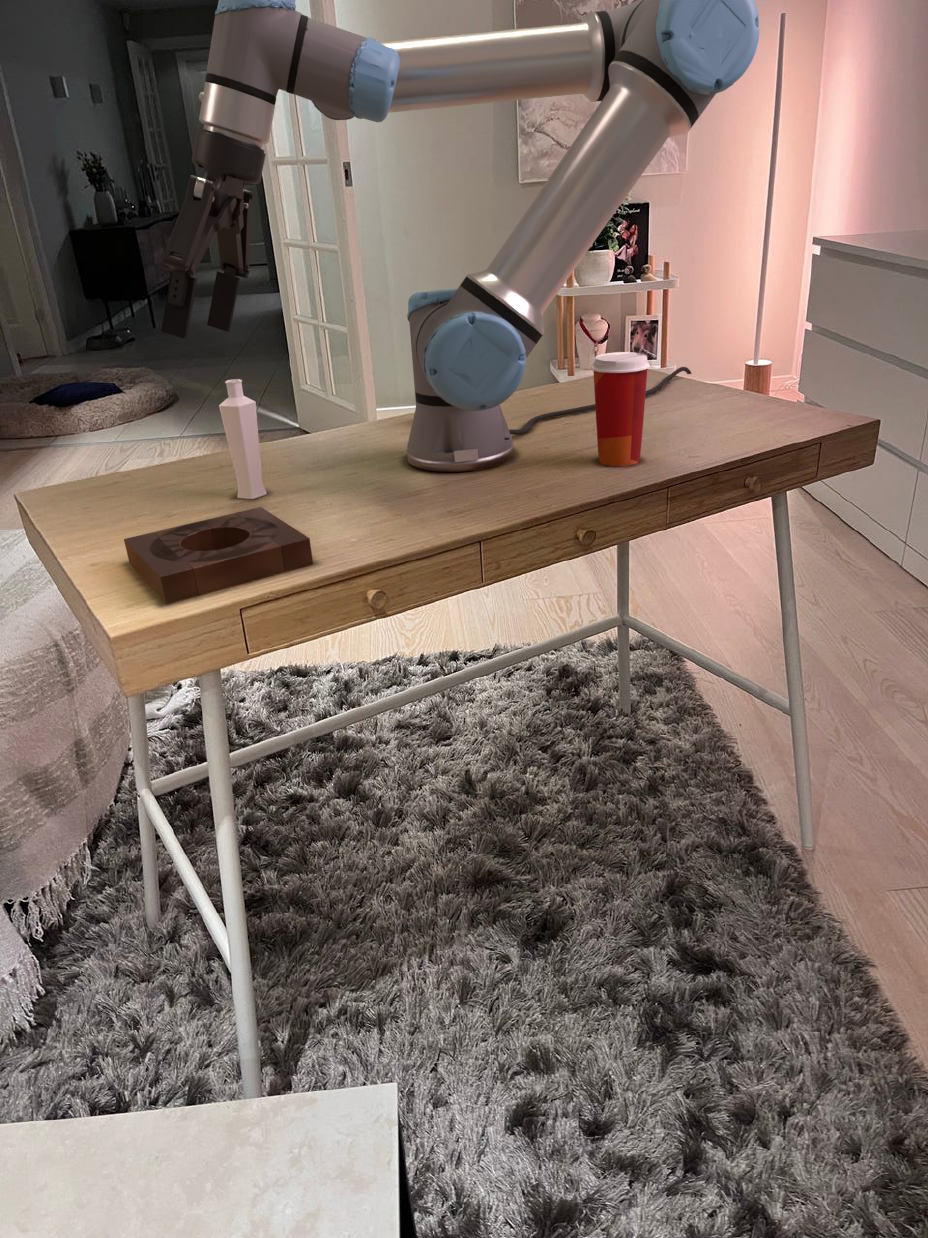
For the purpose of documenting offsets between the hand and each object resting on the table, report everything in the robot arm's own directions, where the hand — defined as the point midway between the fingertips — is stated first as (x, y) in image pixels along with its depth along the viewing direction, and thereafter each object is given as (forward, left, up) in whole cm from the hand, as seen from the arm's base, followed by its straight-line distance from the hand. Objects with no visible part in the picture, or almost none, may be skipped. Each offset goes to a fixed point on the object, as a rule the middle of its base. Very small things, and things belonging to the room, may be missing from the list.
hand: (197, 331), depth 110 cm
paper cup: (-50, +18, -22) cm, 57 cm away
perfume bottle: (-5, -4, -22) cm, 23 cm away
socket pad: (+7, +18, -22) cm, 29 cm away
